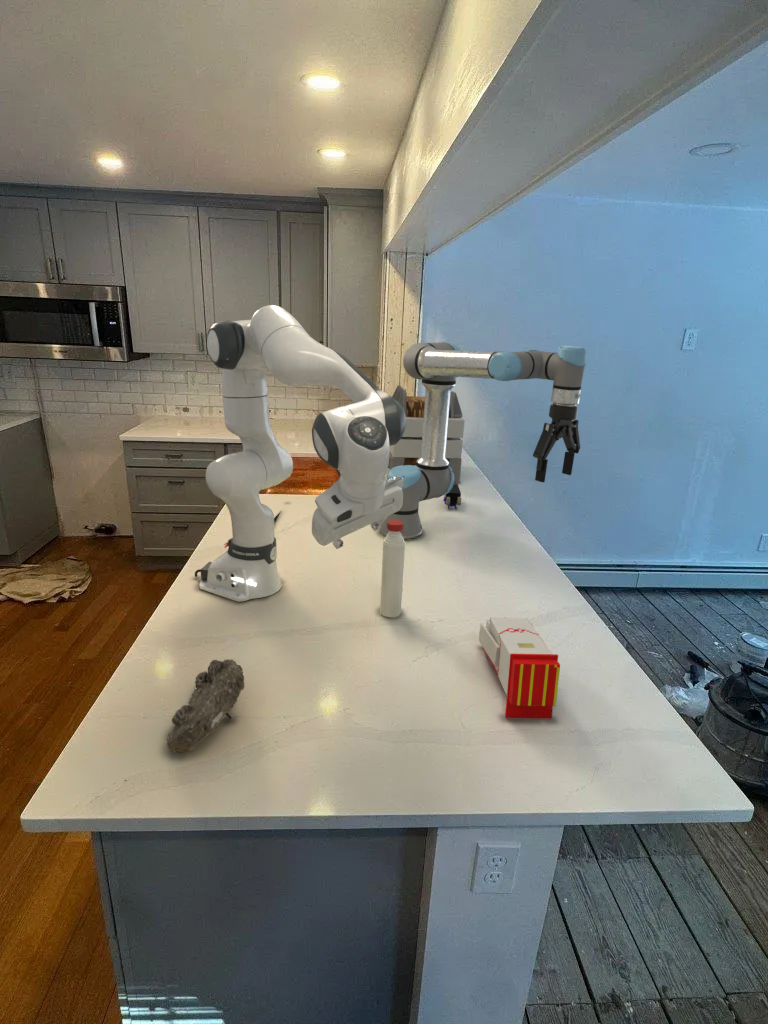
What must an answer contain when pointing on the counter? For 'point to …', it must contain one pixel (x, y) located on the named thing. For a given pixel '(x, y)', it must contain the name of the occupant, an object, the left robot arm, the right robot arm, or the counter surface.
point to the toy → (522, 666)
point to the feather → (276, 517)
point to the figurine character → (453, 497)
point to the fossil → (206, 705)
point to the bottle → (392, 574)
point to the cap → (395, 525)
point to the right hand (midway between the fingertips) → (553, 477)
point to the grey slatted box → (412, 436)
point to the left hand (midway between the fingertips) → (356, 536)
